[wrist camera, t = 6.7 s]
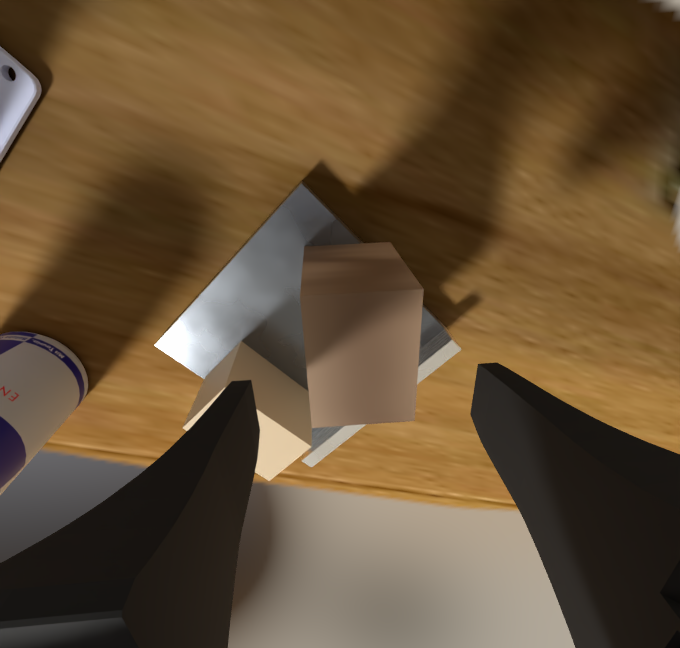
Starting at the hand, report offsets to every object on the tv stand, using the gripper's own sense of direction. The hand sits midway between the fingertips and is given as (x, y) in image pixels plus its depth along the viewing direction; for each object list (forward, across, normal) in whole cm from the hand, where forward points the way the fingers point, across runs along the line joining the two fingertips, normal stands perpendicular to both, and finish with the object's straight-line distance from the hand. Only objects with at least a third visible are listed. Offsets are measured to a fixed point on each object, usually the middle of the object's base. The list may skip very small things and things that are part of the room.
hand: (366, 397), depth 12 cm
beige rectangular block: (+8, +5, +5) cm, 10 cm away
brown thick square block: (+8, 0, 0) cm, 8 cm away
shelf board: (+9, +2, +2) cm, 9 cm away
